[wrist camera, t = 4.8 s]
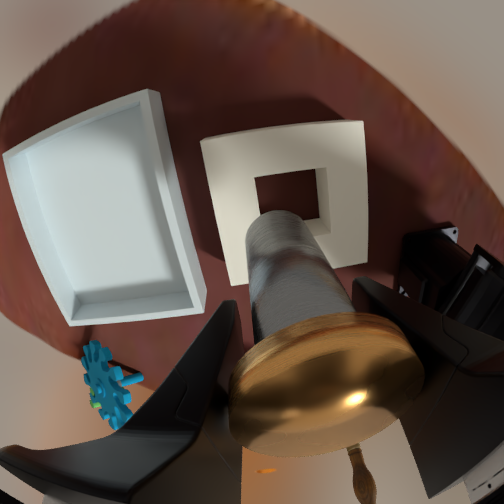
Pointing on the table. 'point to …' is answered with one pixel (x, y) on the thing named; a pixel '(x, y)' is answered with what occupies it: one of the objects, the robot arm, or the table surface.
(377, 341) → the lock pin
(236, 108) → the table surface
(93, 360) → the gear
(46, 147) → the parts tray
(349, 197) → the white square hole block
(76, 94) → the table surface
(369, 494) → the hand bell
